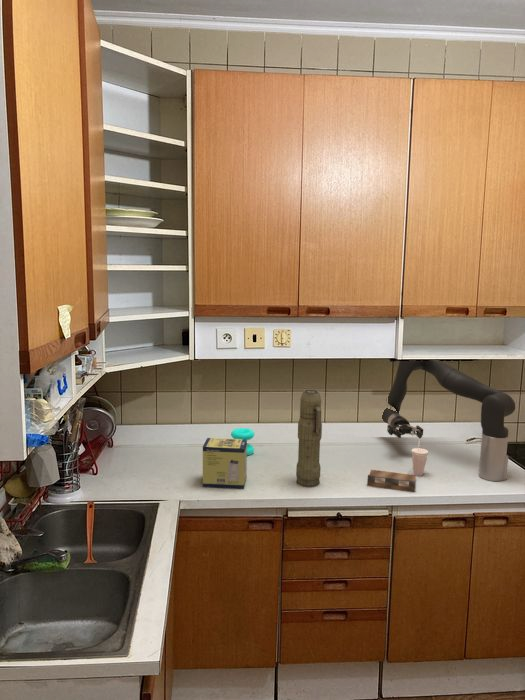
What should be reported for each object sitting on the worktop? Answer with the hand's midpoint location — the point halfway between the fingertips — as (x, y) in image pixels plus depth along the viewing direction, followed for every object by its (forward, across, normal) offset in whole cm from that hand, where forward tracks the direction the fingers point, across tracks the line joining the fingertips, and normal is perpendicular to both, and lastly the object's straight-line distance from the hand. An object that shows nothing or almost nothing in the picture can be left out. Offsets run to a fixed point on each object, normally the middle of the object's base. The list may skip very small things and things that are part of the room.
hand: (410, 435), depth 221 cm
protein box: (+20, -76, +13) cm, 79 cm away
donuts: (-12, -69, +13) cm, 71 cm away
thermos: (+20, -45, +12) cm, 50 cm away
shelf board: (+20, -13, +12) cm, 26 cm away
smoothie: (+12, 0, +12) cm, 17 cm away
